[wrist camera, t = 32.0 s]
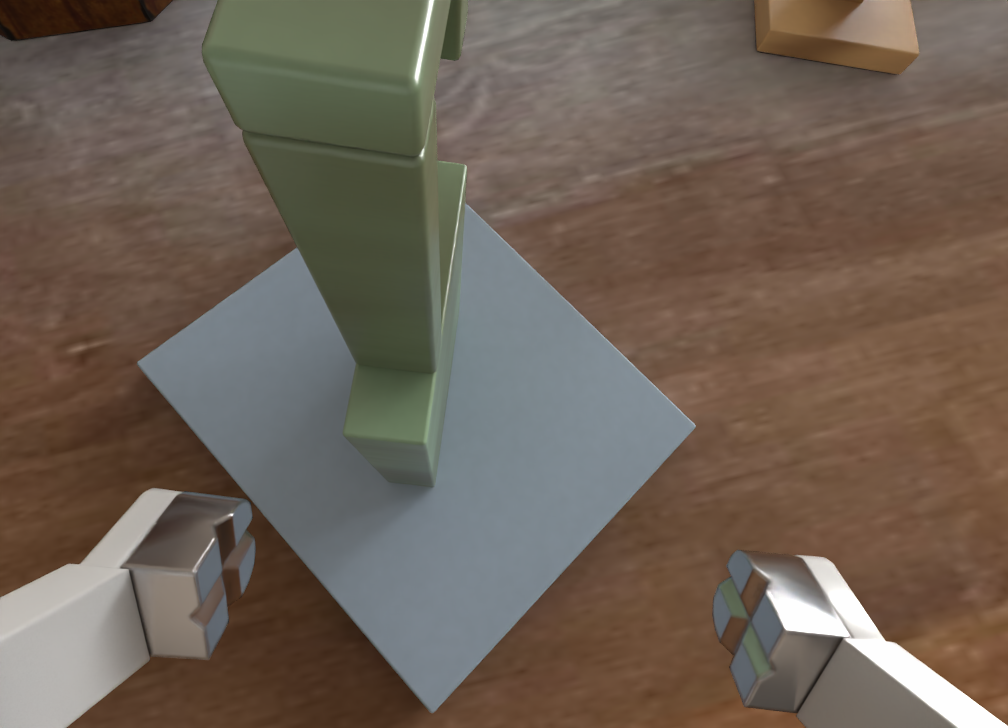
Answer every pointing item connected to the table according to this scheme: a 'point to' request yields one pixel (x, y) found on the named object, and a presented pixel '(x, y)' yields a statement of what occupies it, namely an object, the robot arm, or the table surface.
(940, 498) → the table surface
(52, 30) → the mug
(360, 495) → the felt pad
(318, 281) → the hanger
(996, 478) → the table surface
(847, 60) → the hook stand
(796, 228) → the table surface
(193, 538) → the robot arm
